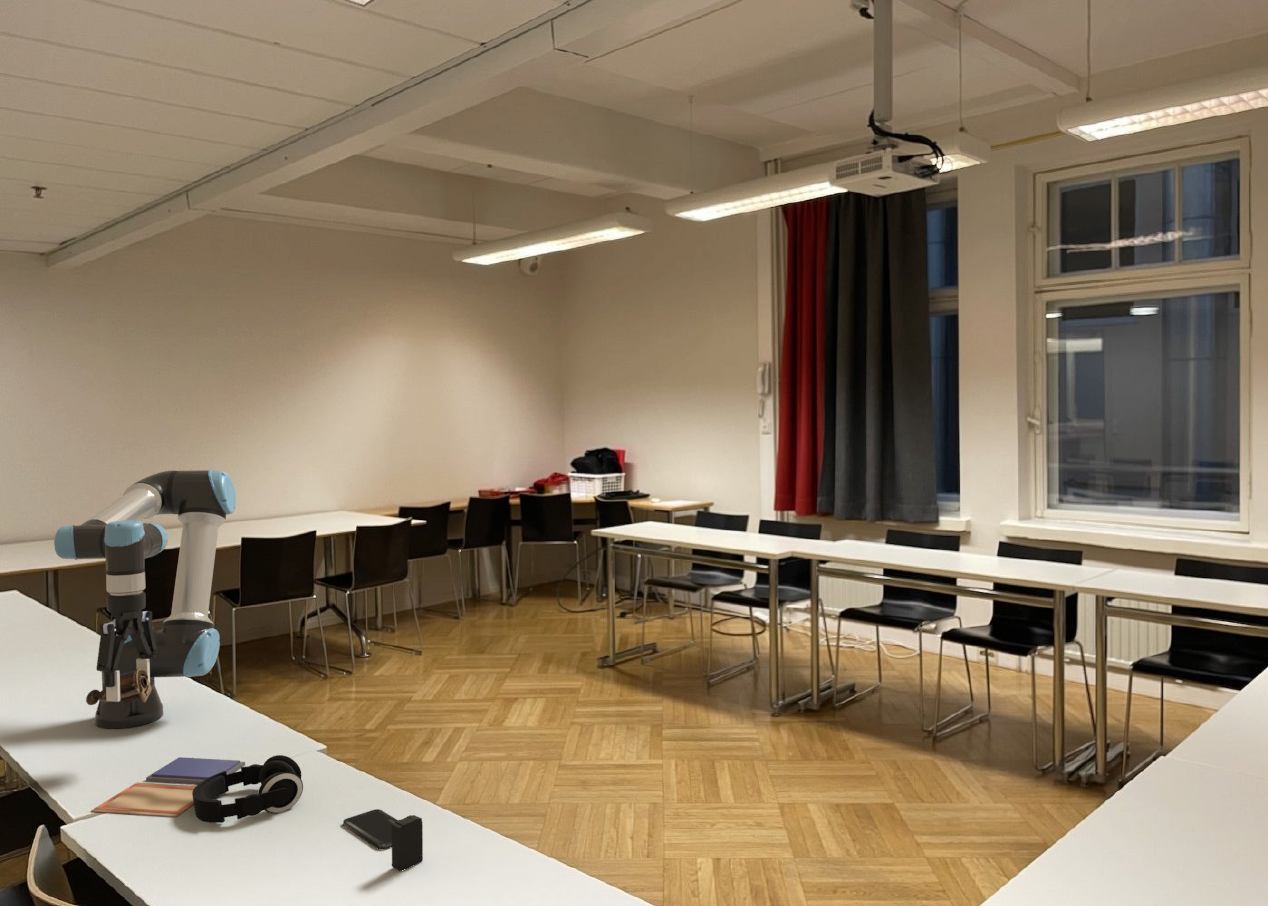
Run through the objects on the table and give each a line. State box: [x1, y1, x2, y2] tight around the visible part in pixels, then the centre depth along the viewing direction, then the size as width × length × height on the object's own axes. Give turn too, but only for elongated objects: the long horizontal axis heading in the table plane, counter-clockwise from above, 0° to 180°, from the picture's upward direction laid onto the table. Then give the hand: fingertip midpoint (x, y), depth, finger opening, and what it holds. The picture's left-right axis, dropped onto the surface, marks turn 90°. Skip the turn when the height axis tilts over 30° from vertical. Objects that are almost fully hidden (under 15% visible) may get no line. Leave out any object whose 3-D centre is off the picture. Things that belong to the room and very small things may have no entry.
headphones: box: [192, 754, 304, 824], centre depth 192 cm, size 18×8×20 cm
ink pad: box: [145, 756, 246, 785], centre depth 208 cm, size 11×16×1 cm
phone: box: [343, 809, 399, 850], centre depth 180 cm, size 8×1×15 cm
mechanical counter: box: [85, 669, 152, 706], centre depth 212 cm, size 7×13×10 cm
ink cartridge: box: [391, 814, 424, 872], centre depth 167 cm, size 5×2×8 cm, turn 141°
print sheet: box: [90, 782, 197, 818], centre depth 194 cm, size 14×18×1 cm
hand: (128, 694), depth 212 cm, fingers closed on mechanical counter, 9 cm apart
